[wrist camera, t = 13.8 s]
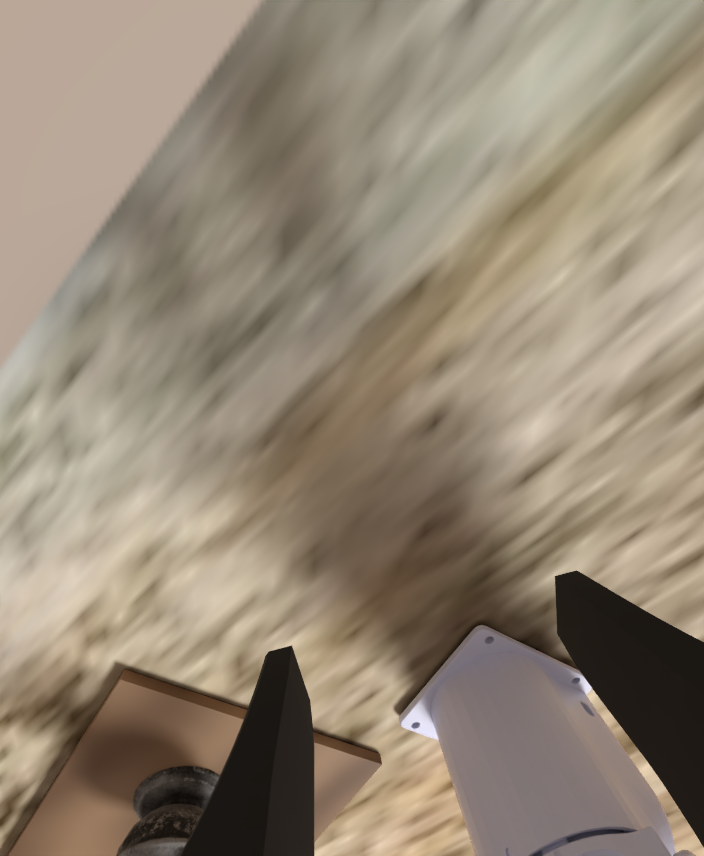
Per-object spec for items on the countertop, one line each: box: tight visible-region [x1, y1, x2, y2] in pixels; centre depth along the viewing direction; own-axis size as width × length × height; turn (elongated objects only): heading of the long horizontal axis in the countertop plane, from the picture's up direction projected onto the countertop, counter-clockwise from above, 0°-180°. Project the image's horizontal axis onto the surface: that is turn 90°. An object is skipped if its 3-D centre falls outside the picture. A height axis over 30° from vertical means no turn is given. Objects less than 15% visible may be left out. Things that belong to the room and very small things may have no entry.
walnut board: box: [7, 669, 382, 856], centre depth 26 cm, size 16×16×1 cm
